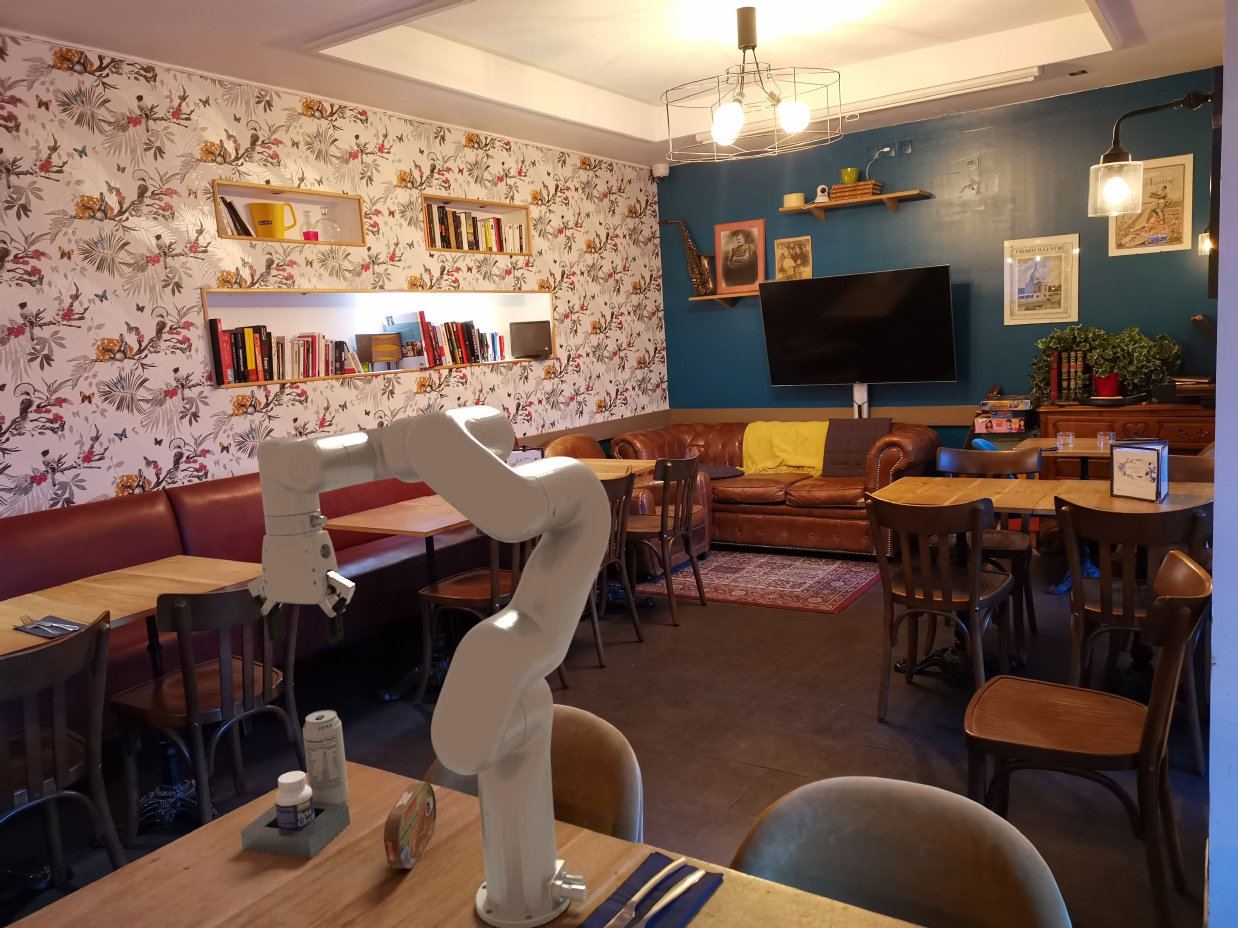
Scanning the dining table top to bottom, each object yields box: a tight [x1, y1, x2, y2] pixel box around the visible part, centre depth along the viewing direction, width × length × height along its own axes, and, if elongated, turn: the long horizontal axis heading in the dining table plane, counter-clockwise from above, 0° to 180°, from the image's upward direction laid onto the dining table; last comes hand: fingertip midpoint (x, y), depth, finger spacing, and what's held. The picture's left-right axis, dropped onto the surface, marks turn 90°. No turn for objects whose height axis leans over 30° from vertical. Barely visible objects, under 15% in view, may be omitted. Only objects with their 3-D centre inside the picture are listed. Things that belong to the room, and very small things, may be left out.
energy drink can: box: [302, 709, 350, 805], centre depth 146 cm, size 6×6×15 cm
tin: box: [383, 781, 437, 870], centre depth 131 cm, size 15×3×8 cm, turn 173°
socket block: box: [240, 801, 351, 859], centre depth 137 cm, size 12×10×3 cm
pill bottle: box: [274, 770, 315, 831], centre depth 137 cm, size 5×5×10 cm
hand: (306, 639), depth 129 cm, fingers open, 9 cm apart
